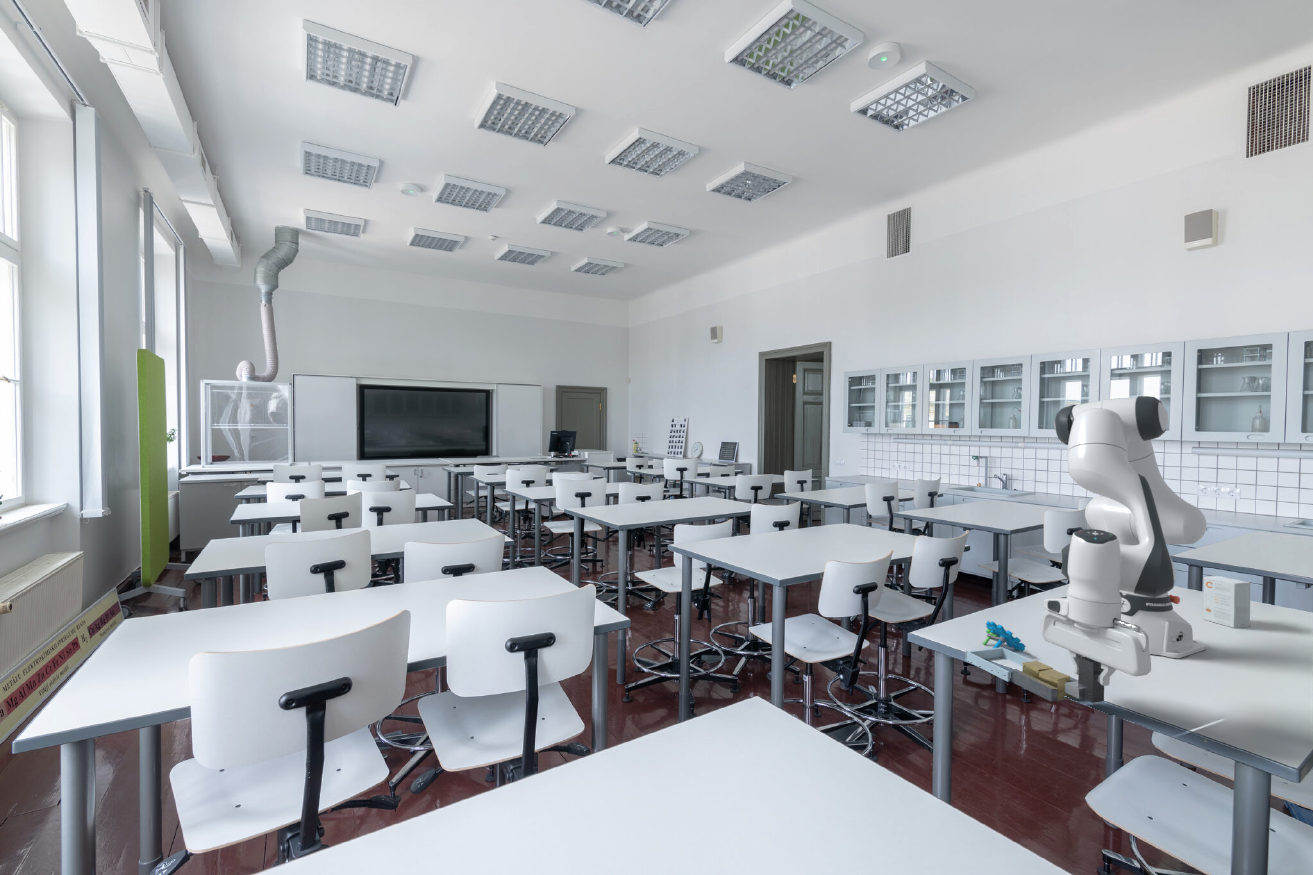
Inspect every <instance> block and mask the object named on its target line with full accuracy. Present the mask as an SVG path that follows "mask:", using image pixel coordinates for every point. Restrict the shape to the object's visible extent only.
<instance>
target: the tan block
mask: <svg viewBox="0 0 1313 875" xmlns="http://www.w3.org/2000/svg"><path fill="white" fill-rule="evenodd" d="M1049 669H1054V667H1052V666H1049V665H1047V664H1045V663H1042V662H1040V661H1038V660H1032V661H1031V662H1023V666H1022V672H1024V673H1026V674H1028V675H1030V676H1032V677H1034V678H1036V679H1038V680H1039V672H1040V671H1044V670H1049Z"/></svg>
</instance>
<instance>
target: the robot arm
mask: <svg viewBox="0 0 1313 875" xmlns="http://www.w3.org/2000/svg"><path fill="white" fill-rule="evenodd" d="M1168 424H1169V415H1168V410H1167V409H1166V407H1165V406H1164V404H1163V402H1162V401H1161V399H1159V398H1157V397H1155V396H1147V395H1146V396H1145V395H1138V396H1137V397H1119V398H1118V397H1117V398H1116V397H1115V398H1105V399H1104V400H1098V401H1091V402H1085V403H1081V404H1071V405H1068V406H1064V407H1062V408H1061V409H1059V411H1058V412H1056V415H1055V418H1054V430H1055V433H1056V436H1057V438H1058V440H1059V441H1060V442H1062V443H1063V444H1064V445H1066V446H1067V454H1066V457H1067V460H1066V461H1067V462H1066V463H1067V470H1068V474H1069V476H1070V478H1071V479H1072V480H1073V481H1074V482H1075V483H1076V484H1078V485H1079V486H1080V487H1081V488H1083V489H1085V490H1086V491H1089V492H1090V493H1093V494H1096V495H1100V496H1095V497H1093V498H1092V499H1091V500H1090V501H1089V502H1088V503H1087V504H1086V507H1085V509H1084V510H1085V511H1084V517H1085V518H1084V519H1085V521H1086V523H1087V525H1088V526H1089V527H1090V528H1086V529H1079V530H1076V531H1074V532H1073V533H1072V535H1071V540H1070V543H1067V545H1065V546H1064V547H1063V548H1062V549H1061V572H1060V573H1061V574H1062V575H1063V576H1064V577H1065V579H1067V580H1068V581H1069V586H1068V588H1067V591H1066V596H1063V597H1062V596H1061V597H1052V598H1046V599H1044V600H1043V608H1044V609H1045V610H1044V611H1043V613H1042V616H1041V627H1040V629H1041V636H1042V638H1043V639H1044V641H1045V642H1047V643H1049V644H1052V645H1055V646H1057V647H1060V648H1061V649H1064V650H1067V651H1068V652H1069V654H1068V655H1069V657H1070V660H1071V662H1072V663H1073V665H1074V674H1076V675H1077V676H1078V672H1079V657H1087V658H1090V659H1092V660H1095V661H1097V662H1100V663H1101V668H1102V669H1104V670H1103V672H1102V673H1101V674H1096V683H1098V684H1100V685H1103V686H1104V687H1107V686H1110V684H1111V683H1110V682H1111V681H1110V680H1111V678H1110V677H1112V675H1113V674H1114V673H1115V672H1116V671H1117V670H1118V671H1120V672H1123V673H1124V674H1127V675H1130V676H1133V677H1142V676H1147V675H1149V674H1150V673H1151V671H1152V659H1151V658H1152V657H1151V655H1154V656H1155V655H1156V656H1162V657H1168V658H1173V659H1181V658H1184V657H1187V656H1191V655H1194V654H1196V653H1197V654H1198V653H1199V652H1202V651H1205V650H1206V646H1205V644H1202V643H1201V642H1198V641H1196V640H1194V634H1193V627H1192V625H1191V624H1190V622H1188V621H1187V620H1186V619H1184V617H1182V616H1181V615H1180V614H1178V613H1177V612H1176V611H1175V610H1174V607H1173V604H1176V605H1179V604H1180V602H1181V598H1180V596H1178V595H1173V594H1168V592H1170V591H1171V590H1173V589H1174V585H1175V583H1176V578H1177V576H1176V574H1177V573H1176V568H1175V564H1174V562H1173V560H1172V558H1171V556H1170V552H1169V550H1168V547H1167V545H1194V544H1196V543H1197V542H1199V541H1200V540H1201V539H1202V538H1203V537H1204V535H1205V533H1206V530H1207V526H1208V524H1207V519H1206V516H1205V515H1204V513H1203V512H1202V510H1201V509H1199V508H1198V507H1197V506H1195V505H1193V504H1191V503H1190V502H1187V501H1186V500H1184V499H1183V498H1182V497H1180V496H1179V494H1176V493H1175V491H1173V489H1172V488H1170V486H1169V485H1168V484H1167V483H1166V481H1165V480H1164V478H1163V476H1162V475H1161V471H1160V469H1159V466H1158V462H1157V459H1156V456H1155V451H1154V447H1153V444H1152V441H1151V440H1155V439H1158V438H1159V437H1161V436H1163V434H1164V433H1165V432H1166V430H1167V426H1168Z"/></svg>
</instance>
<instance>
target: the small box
mask: <svg viewBox="0 0 1313 875" xmlns="http://www.w3.org/2000/svg"><path fill="white" fill-rule="evenodd" d="M1202 598H1203V599H1202V600H1203V603H1202V604H1203V606H1202V610H1203V611H1202V619H1203V620H1204V621H1208V622H1212V623H1216V624H1218V625H1221V626H1225V627H1229V628H1231V629H1237V628H1238V629H1239V628H1248V627H1250V626H1251V582H1249V581H1245V580H1241V579H1235V578H1230V577H1225V576H1221V575H1213V576H1212V575H1211V576H1209V575H1208V576H1204V577H1203V597H1202Z"/></svg>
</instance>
